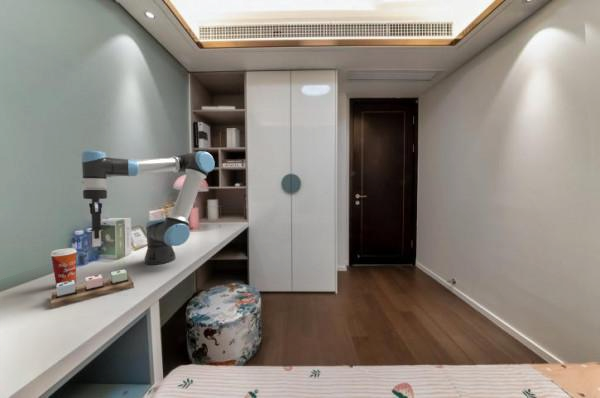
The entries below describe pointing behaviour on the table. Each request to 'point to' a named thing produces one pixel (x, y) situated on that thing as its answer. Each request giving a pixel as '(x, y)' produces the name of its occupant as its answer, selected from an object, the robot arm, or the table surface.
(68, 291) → the key three
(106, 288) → the wooden tray
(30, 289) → the table surface
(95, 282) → the key two
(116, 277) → the key one
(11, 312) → the table surface
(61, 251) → the coffee cup
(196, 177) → the robot arm
